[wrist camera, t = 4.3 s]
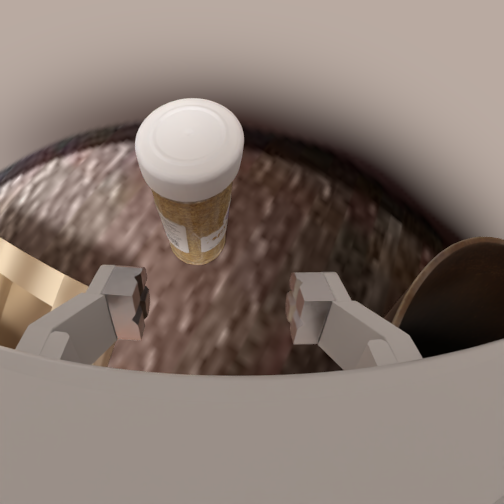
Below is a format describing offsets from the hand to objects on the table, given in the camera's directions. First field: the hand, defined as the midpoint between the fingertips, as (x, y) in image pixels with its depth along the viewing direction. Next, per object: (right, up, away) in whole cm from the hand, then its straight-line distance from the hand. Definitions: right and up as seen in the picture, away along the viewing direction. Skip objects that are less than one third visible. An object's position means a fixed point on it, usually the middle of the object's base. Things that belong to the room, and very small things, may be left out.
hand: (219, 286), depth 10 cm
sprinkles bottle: (-3, +2, +14) cm, 15 cm away
